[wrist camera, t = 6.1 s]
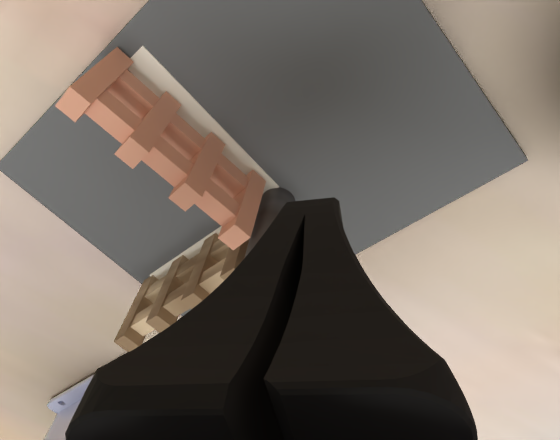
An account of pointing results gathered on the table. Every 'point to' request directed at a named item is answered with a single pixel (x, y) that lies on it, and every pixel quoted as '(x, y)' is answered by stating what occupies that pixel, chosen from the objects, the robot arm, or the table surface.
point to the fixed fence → (193, 278)
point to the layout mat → (277, 122)
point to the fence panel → (166, 145)
